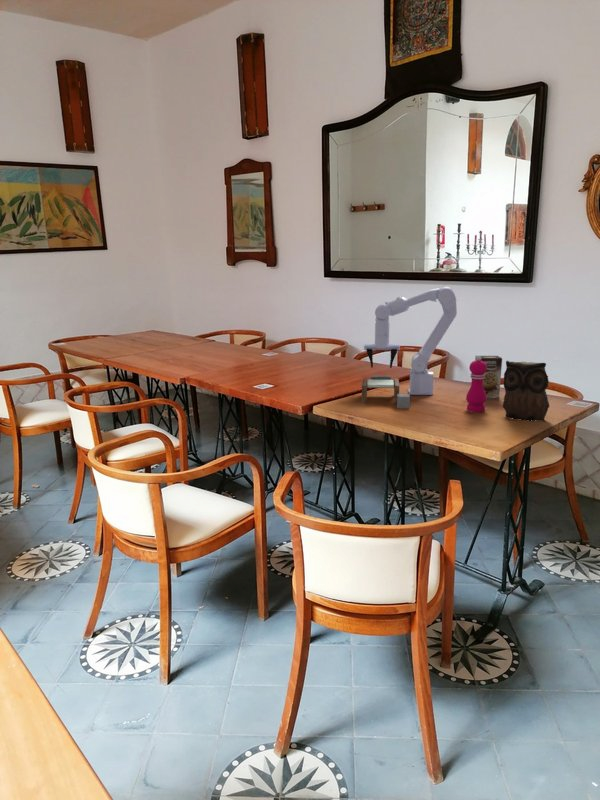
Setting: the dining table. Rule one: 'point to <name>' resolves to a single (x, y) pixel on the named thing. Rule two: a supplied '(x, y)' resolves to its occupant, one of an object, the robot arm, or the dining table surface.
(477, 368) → the pepper mill
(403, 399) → the grey cube
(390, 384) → the trapdoor
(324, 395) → the dining table surface
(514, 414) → the owl
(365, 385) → the frame
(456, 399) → the dining table surface
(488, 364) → the coffee box
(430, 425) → the dining table surface
